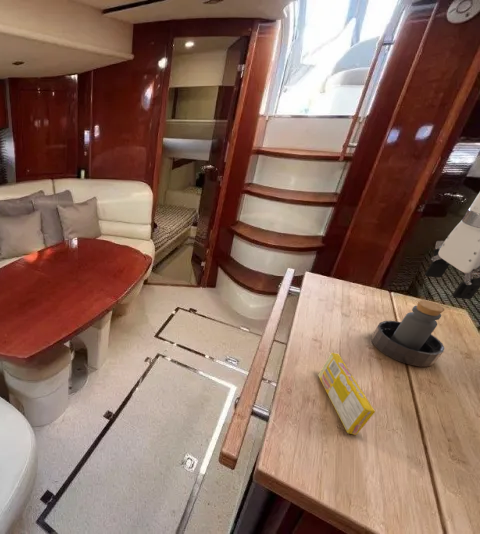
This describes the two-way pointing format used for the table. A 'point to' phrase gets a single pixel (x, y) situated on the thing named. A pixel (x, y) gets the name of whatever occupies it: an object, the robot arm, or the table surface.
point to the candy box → (345, 394)
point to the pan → (401, 353)
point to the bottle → (418, 325)
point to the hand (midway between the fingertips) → (445, 286)
